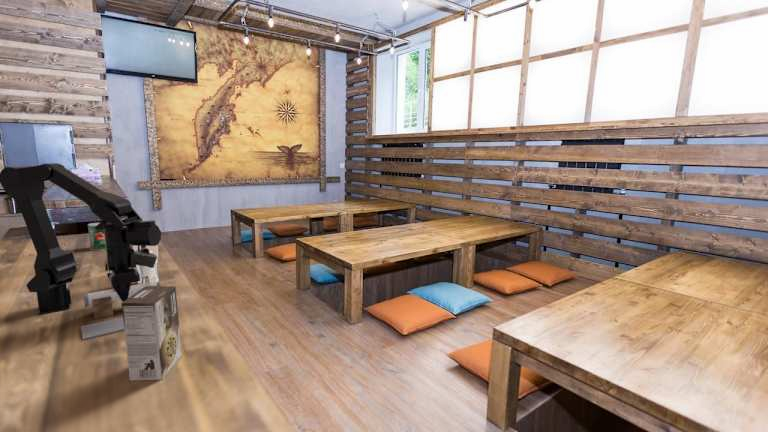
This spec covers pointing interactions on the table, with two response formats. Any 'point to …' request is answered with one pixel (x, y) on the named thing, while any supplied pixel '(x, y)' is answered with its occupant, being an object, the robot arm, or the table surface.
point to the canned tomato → (96, 237)
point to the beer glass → (146, 272)
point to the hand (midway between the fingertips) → (124, 299)
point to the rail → (114, 293)
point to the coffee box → (151, 332)
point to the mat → (102, 328)
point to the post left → (102, 308)
